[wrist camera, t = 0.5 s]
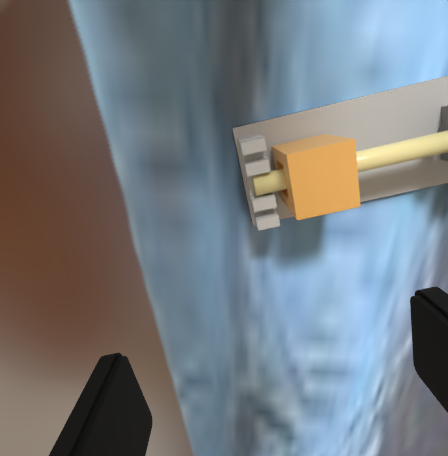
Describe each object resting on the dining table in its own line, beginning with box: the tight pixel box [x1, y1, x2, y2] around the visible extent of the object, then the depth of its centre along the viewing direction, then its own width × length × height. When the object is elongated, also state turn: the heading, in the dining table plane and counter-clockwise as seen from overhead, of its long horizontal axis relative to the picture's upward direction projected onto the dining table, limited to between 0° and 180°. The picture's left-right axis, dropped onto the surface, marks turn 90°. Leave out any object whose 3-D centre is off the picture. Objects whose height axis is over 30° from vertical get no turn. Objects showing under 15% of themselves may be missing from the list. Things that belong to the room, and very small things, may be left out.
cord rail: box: [232, 76, 448, 231], centre depth 27 cm, size 10×22×6 cm, turn 103°
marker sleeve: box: [272, 134, 360, 220], centre depth 26 cm, size 5×5×7 cm
